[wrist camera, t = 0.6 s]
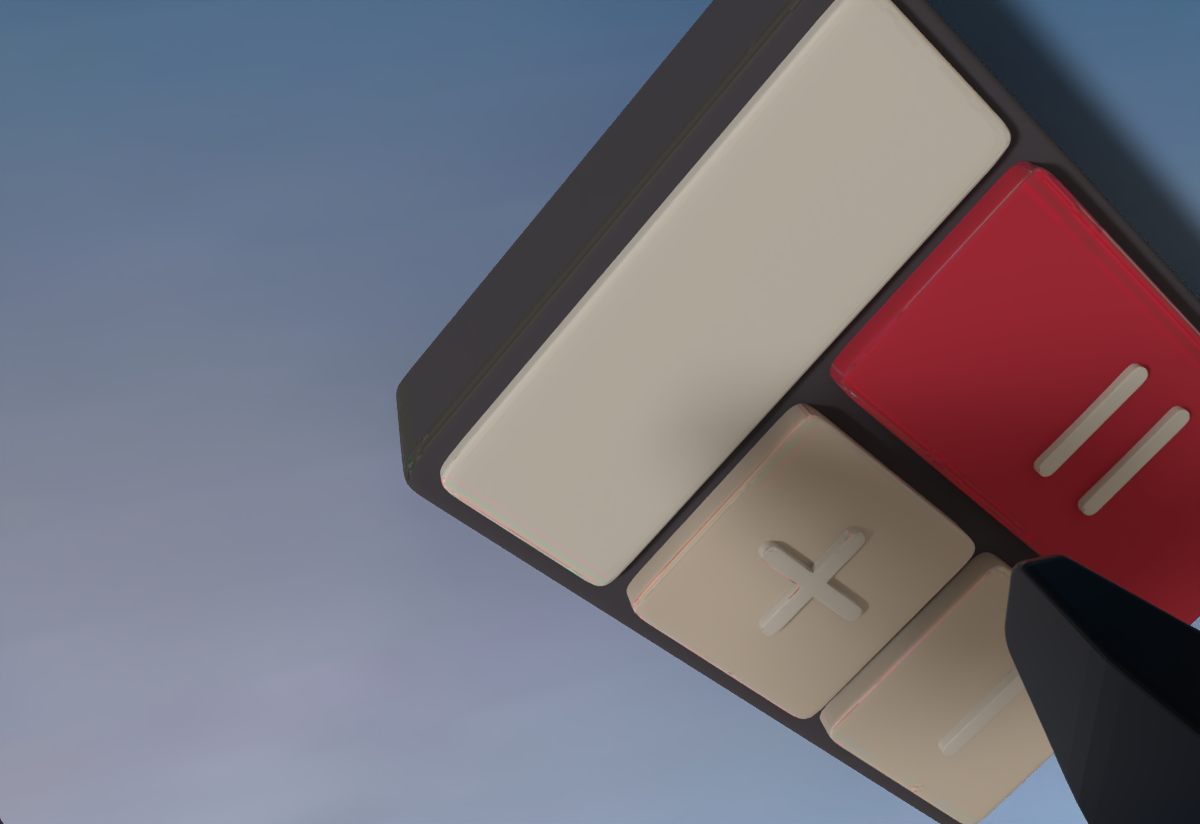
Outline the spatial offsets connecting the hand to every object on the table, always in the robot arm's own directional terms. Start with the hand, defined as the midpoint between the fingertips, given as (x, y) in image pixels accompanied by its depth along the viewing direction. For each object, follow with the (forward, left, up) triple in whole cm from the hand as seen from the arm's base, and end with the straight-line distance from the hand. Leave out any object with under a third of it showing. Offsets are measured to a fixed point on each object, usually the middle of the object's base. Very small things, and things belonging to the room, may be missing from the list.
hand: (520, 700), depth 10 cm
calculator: (-5, -7, -13) cm, 15 cm away
